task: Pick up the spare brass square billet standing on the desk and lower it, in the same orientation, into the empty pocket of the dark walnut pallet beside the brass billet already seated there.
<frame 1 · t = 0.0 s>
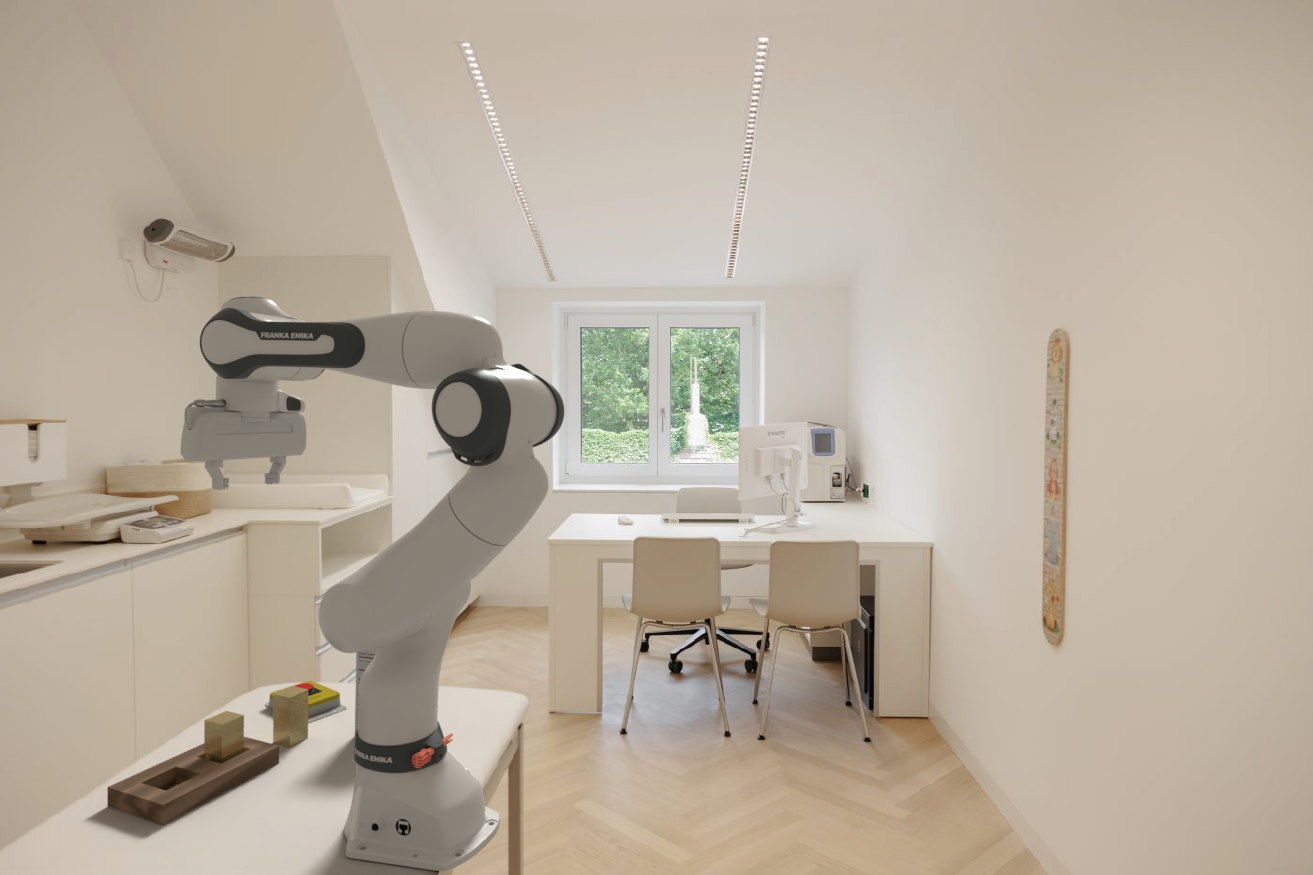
hand: (247, 486, 116), 48 cm above the table, tool pointing down, fingers open, 8 cm apart
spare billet: (290, 740, 132), on the table
supplement box: (390, 729, 137), on the table
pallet: (198, 783, 116), on the table
seated billet: (224, 770, 120), resting in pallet
emergency button: (305, 710, 146), on the table
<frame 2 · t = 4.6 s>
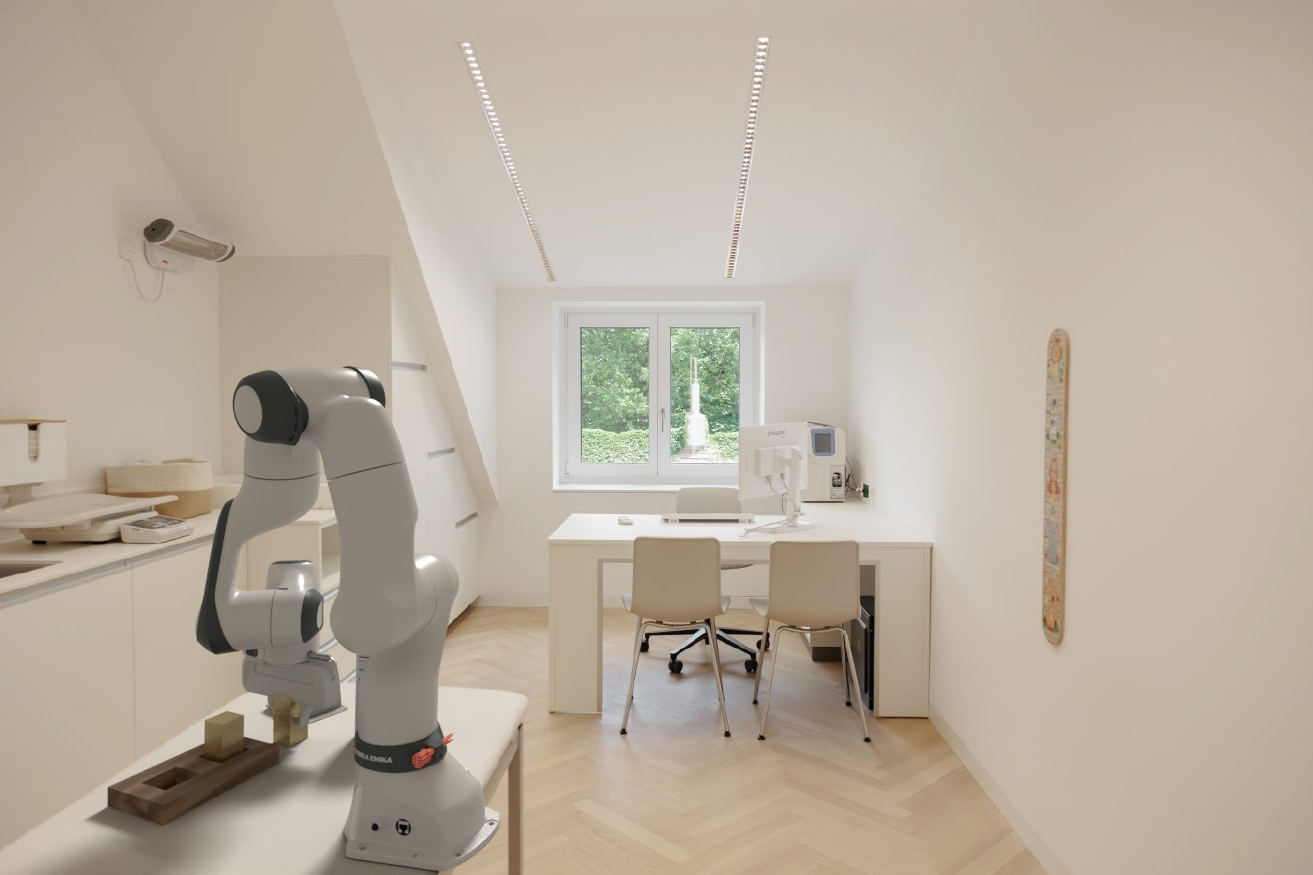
hand: (290, 722, 131), 3 cm above the table, tool pointing down, fingers closed on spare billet, 4 cm apart
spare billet: (290, 740, 132), on the table, touching gripper
everything else where it was.
when the fingers open (5 cm above the table, at t = 11.0 s): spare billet drops 2 cm, resting in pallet.
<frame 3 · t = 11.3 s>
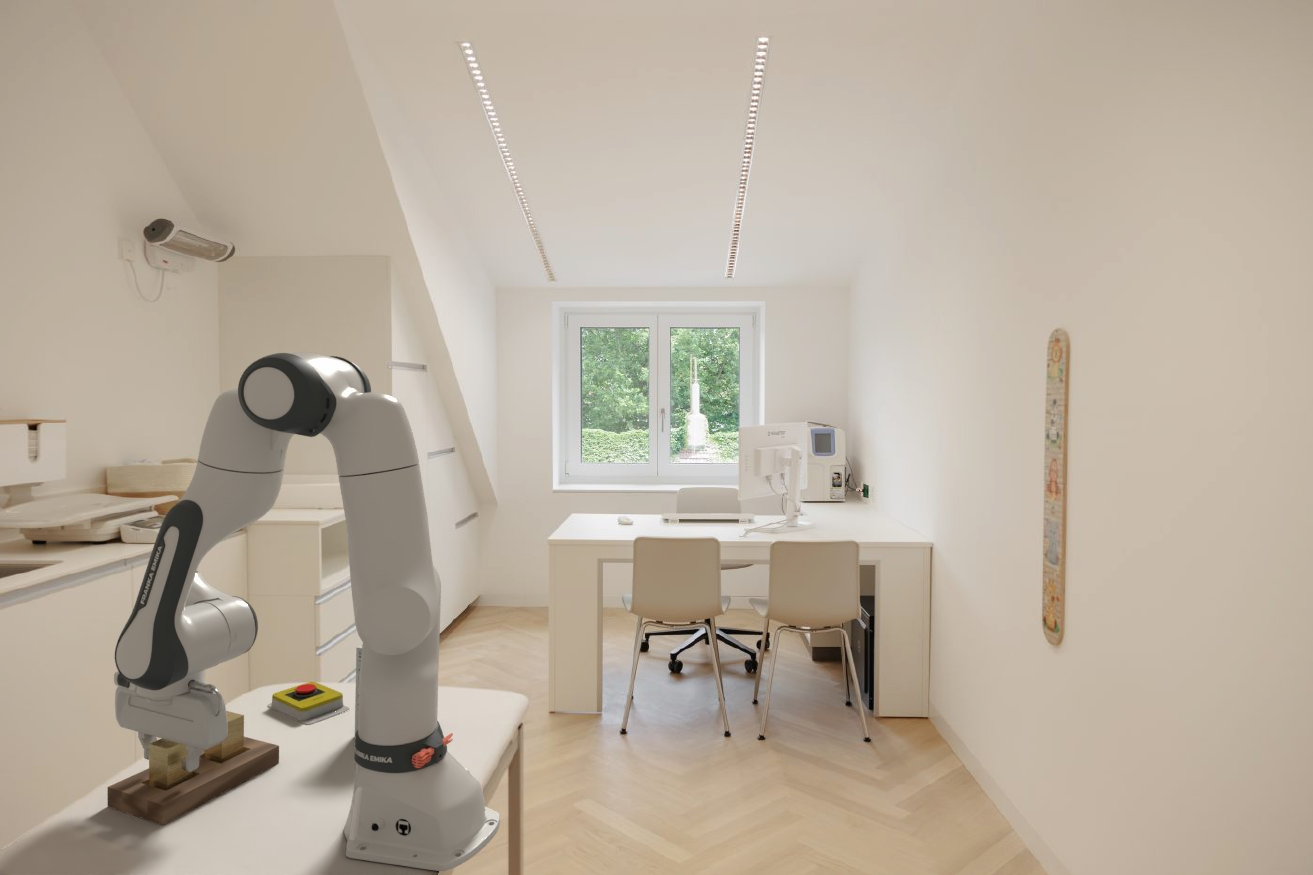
hand: (171, 763, 111), 5 cm above the table, tool pointing down, fingers open, 7 cm apart
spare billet: (170, 797, 112), resting in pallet
everything else where it was.
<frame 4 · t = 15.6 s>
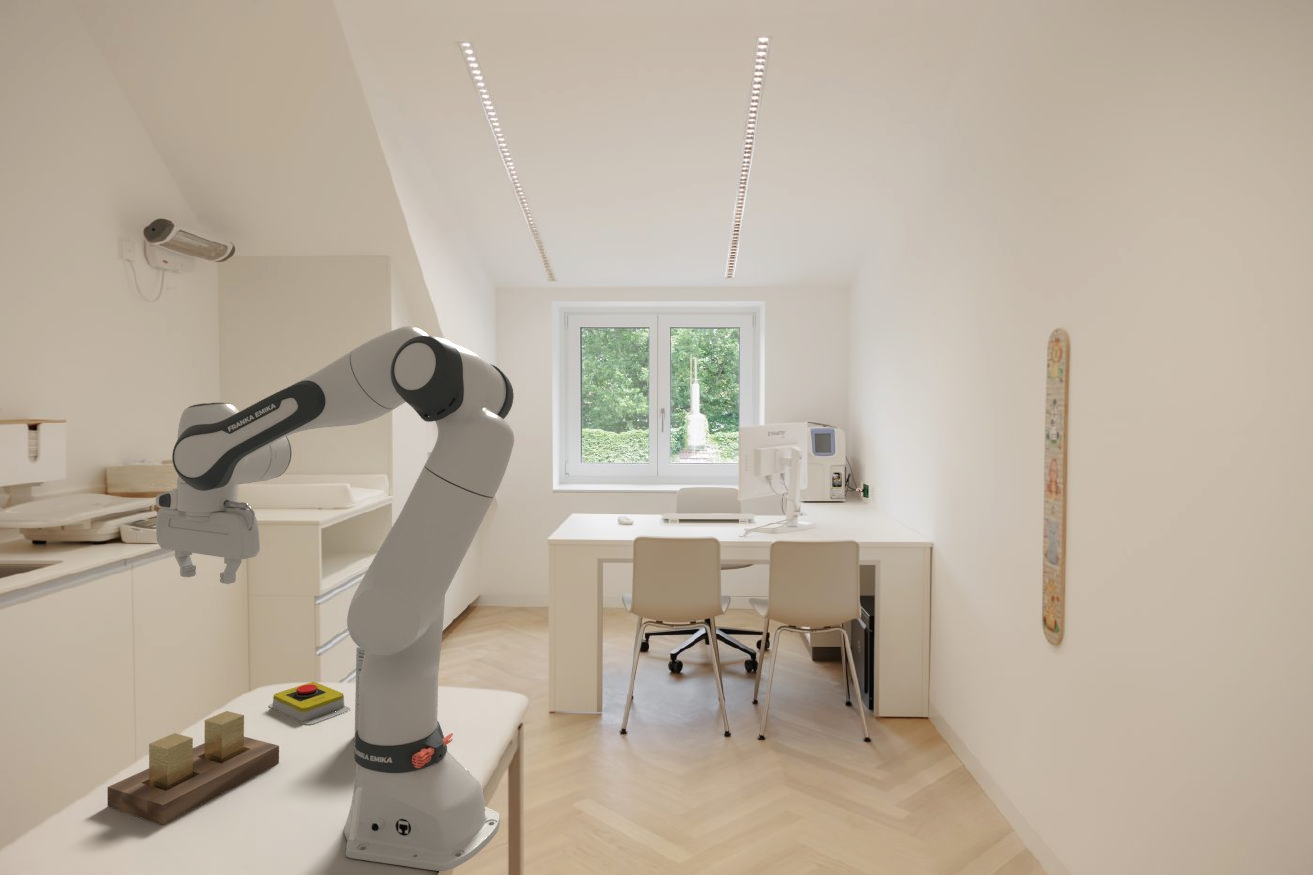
hand: (207, 579, 122), 31 cm above the table, tool pointing down, fingers open, 8 cm apart
at the end: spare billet 0.1 cm from the target spot on the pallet, point 0.0 cm above the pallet's base; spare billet tilted 0°; seated billet moved 0.0 cm from its start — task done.
